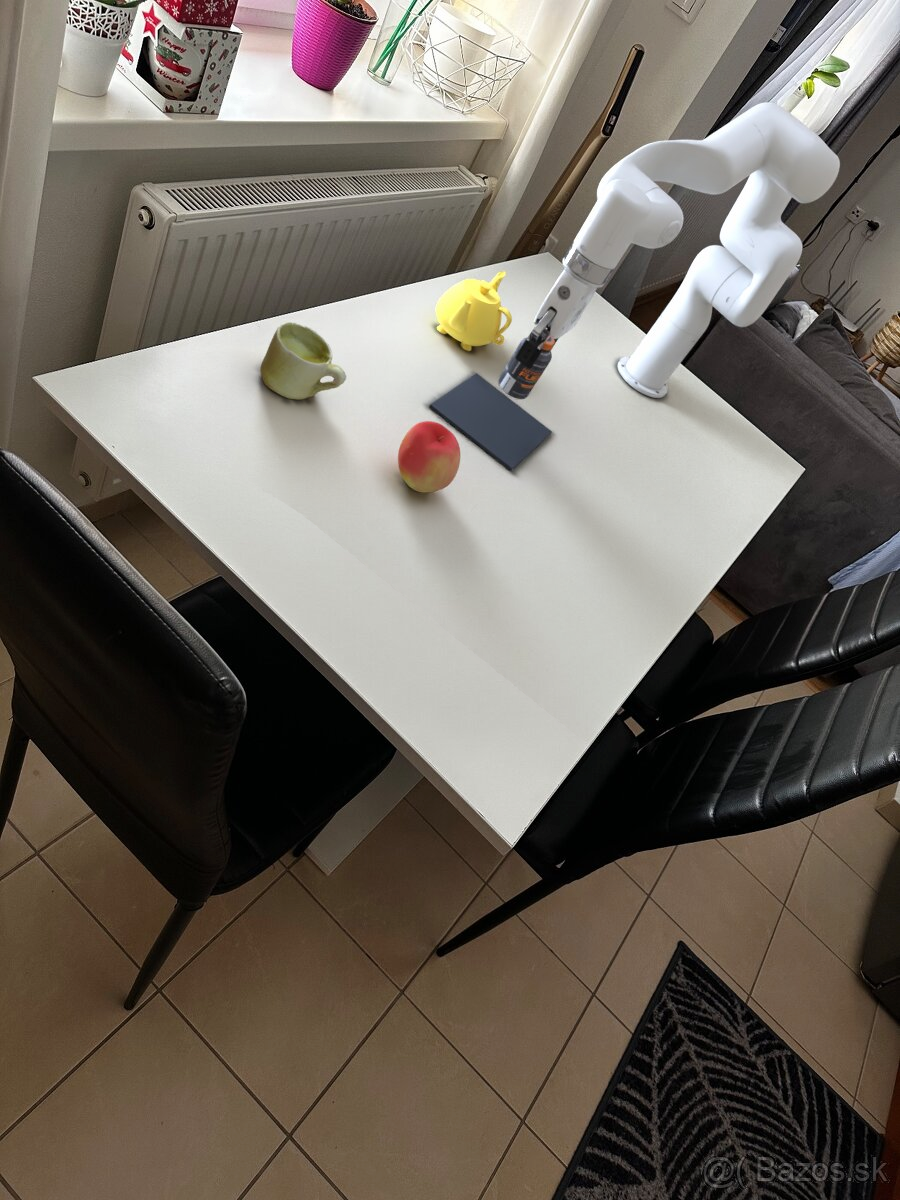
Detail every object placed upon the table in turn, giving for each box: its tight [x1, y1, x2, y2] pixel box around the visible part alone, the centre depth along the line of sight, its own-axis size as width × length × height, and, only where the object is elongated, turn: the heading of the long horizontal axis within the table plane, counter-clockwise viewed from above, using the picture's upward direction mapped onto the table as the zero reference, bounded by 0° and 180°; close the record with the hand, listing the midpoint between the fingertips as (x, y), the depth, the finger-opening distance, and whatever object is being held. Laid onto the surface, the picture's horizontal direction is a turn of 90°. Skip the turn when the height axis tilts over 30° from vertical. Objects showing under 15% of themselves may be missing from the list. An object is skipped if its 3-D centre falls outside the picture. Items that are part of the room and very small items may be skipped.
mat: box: [428, 372, 553, 472], centre depth 153 cm, size 18×18×1 cm
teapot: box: [435, 270, 513, 352], centre depth 164 cm, size 20×15×12 cm
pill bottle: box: [497, 332, 556, 400], centre depth 144 cm, size 6×6×11 cm
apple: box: [397, 420, 461, 493], centre depth 129 cm, size 10×10×10 cm
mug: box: [260, 321, 347, 400], centre depth 131 cm, size 12×10×10 cm
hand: (531, 356), depth 143 cm, fingers closed on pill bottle, 5 cm apart
